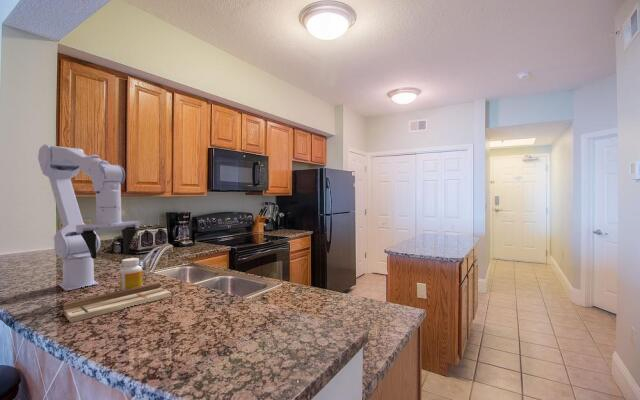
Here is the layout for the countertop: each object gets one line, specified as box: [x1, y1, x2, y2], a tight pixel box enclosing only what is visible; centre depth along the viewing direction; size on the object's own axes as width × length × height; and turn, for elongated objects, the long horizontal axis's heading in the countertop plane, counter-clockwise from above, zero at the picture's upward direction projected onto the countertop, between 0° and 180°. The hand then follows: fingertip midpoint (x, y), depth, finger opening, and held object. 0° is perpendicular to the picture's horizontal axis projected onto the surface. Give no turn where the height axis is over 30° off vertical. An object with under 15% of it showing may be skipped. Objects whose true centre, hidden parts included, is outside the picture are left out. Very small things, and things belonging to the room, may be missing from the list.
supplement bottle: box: [118, 257, 143, 291], centre depth 83 cm, size 5×5×10 cm
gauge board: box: [62, 281, 172, 323], centre depth 76 cm, size 8×21×2 cm, turn 140°
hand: (110, 255), depth 85 cm, fingers open, 7 cm apart
